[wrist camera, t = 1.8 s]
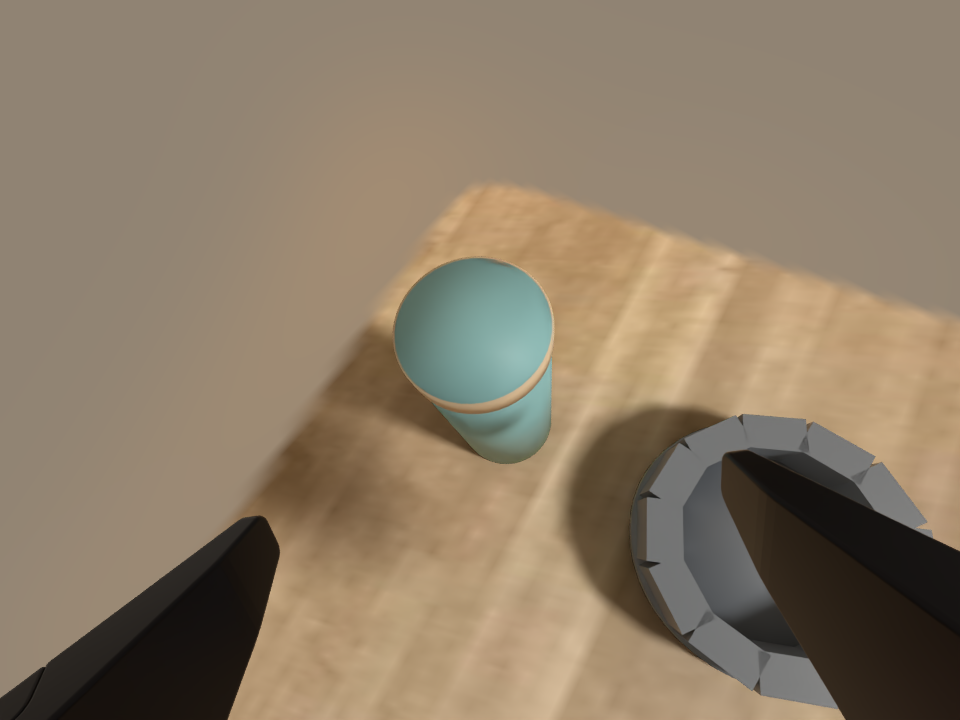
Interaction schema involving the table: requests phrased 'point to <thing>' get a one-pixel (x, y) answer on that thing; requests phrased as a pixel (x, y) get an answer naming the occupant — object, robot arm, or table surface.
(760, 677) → the holder
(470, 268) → the peg
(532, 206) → the table surface
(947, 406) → the table surface
